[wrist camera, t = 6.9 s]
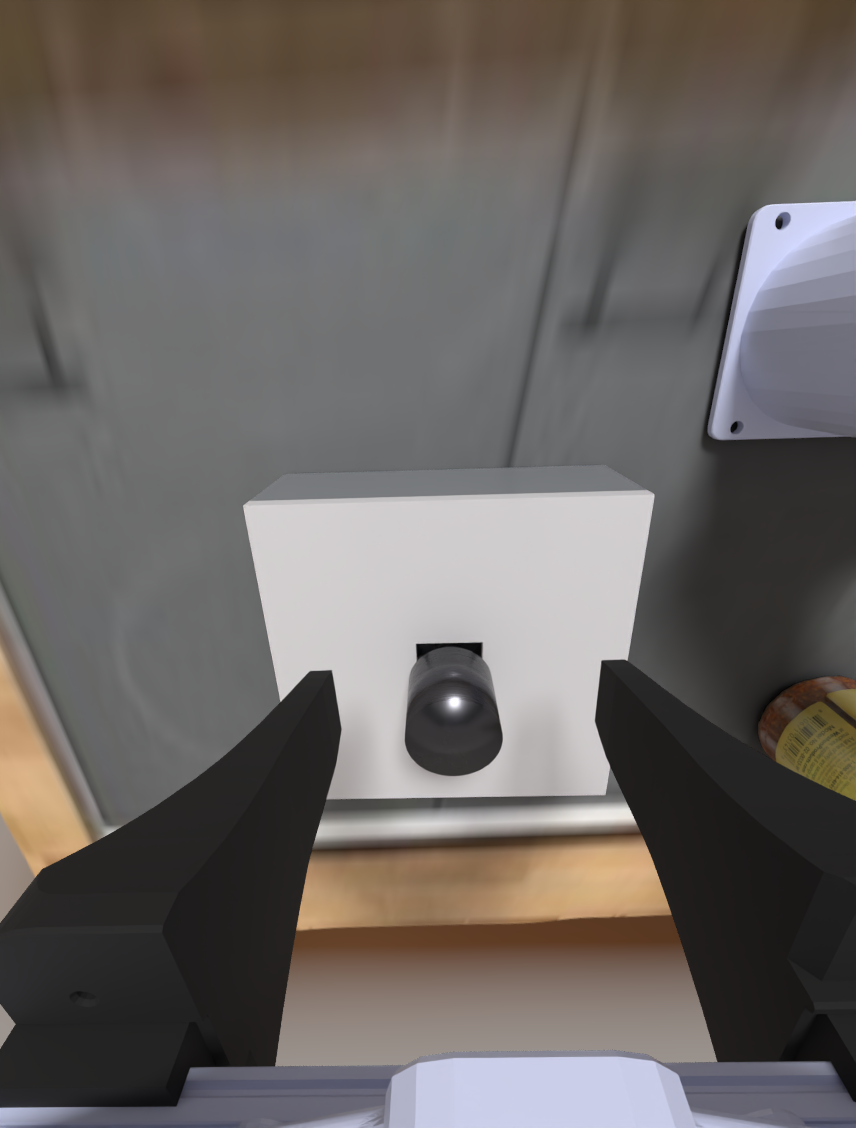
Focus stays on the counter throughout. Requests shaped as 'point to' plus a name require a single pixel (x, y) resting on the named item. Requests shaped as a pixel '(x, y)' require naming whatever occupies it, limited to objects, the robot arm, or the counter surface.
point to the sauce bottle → (815, 731)
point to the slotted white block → (455, 609)
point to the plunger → (452, 710)
